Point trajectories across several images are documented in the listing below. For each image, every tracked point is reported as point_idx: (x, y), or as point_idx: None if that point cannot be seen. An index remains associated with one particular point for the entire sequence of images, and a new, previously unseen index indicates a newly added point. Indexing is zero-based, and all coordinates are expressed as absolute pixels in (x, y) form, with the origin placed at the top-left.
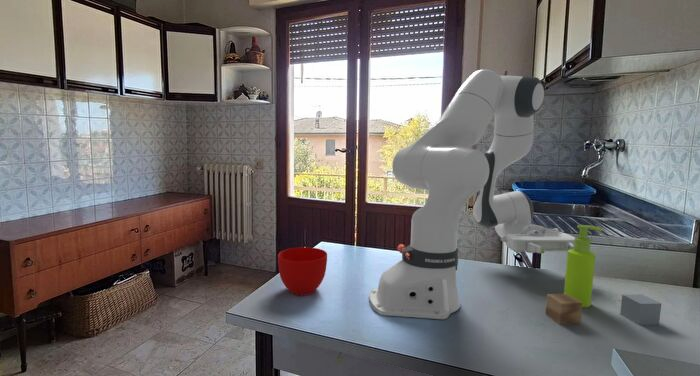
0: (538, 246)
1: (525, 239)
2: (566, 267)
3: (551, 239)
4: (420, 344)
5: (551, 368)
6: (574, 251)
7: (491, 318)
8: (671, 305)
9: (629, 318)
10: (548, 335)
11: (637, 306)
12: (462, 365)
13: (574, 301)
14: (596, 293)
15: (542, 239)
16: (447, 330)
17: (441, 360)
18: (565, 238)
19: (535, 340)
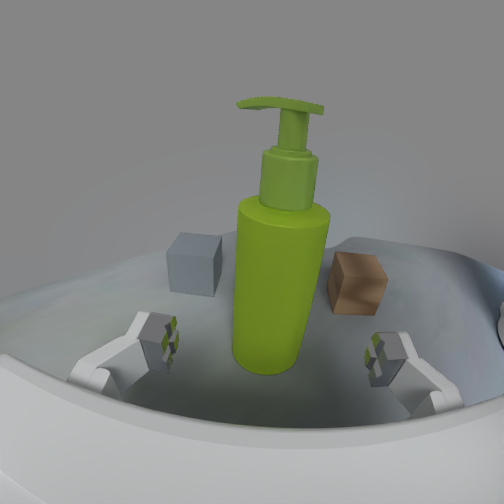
0: (409, 341)
1: (484, 409)
2: (315, 280)
3: (226, 435)
4: (497, 276)
5: (400, 244)
6: (314, 207)
7: (456, 308)
8: (65, 295)
9: (217, 281)
10: (389, 273)
11: (220, 246)
12: (463, 256)
13: (347, 255)
14: (142, 379)
15: (343, 436)
16: (490, 290)
17: (477, 261)
18: (38, 410)
19: (407, 269)
